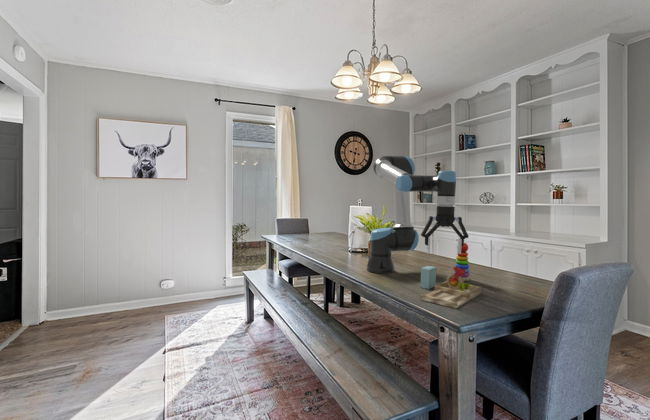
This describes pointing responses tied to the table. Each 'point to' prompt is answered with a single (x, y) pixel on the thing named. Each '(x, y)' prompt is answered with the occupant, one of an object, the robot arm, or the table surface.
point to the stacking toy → (463, 262)
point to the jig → (451, 295)
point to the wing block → (428, 277)
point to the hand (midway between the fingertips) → (443, 252)
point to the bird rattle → (454, 281)
